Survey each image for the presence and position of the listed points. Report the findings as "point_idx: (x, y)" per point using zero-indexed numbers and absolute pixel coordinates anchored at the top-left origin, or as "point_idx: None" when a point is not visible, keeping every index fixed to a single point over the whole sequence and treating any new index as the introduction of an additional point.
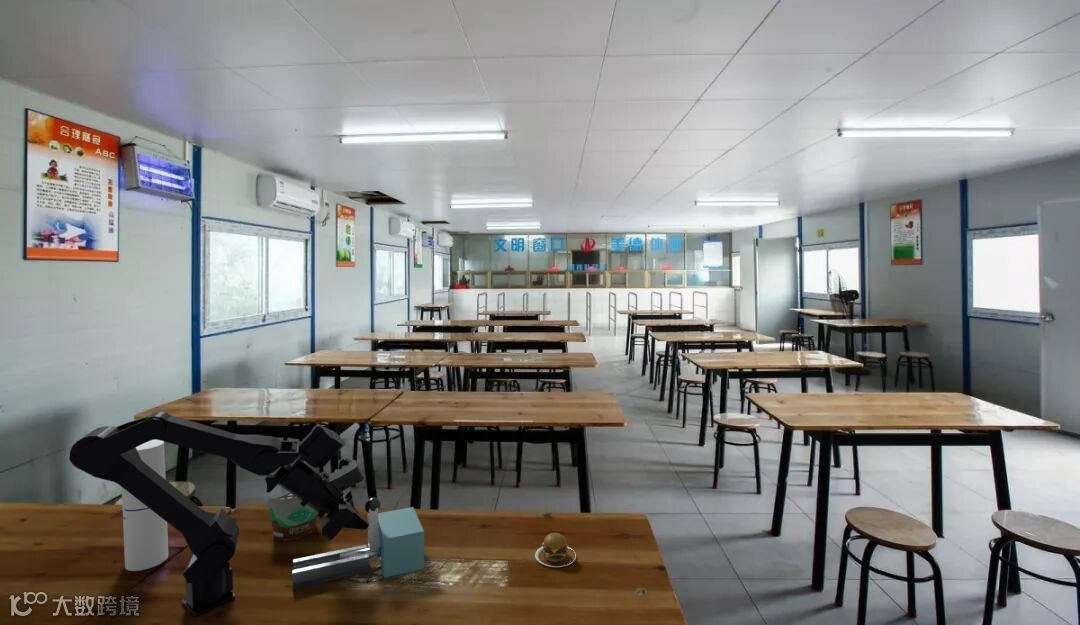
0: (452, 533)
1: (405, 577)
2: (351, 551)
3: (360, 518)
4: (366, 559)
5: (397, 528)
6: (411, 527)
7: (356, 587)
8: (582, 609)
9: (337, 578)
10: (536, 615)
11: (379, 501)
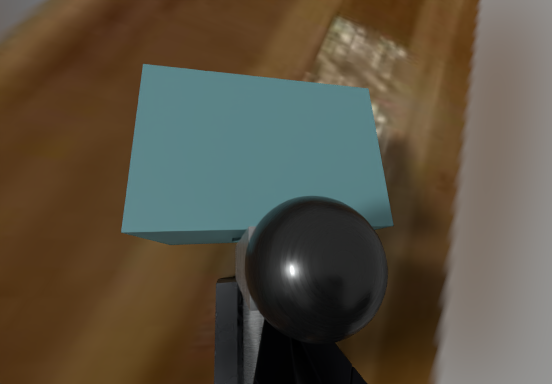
0: (186, 53)
1: None
2: (257, 342)
3: (341, 353)
4: None
5: (322, 163)
6: (331, 116)
7: None
8: (467, 3)
9: None
10: (472, 49)
11: (338, 201)
